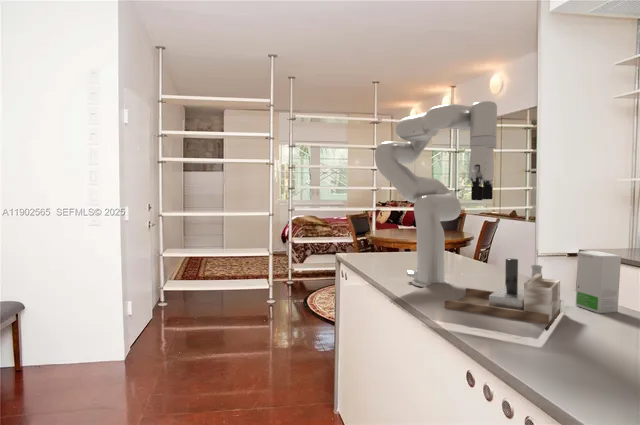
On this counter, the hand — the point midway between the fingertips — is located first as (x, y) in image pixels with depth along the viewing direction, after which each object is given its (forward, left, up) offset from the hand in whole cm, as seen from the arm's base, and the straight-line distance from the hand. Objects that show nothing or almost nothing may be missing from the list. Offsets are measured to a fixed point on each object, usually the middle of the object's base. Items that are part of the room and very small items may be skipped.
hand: (482, 199), depth 133 cm
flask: (+14, +8, -30) cm, 34 cm away
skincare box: (+30, +4, -30) cm, 43 cm away
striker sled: (+12, -15, -29) cm, 34 cm away
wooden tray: (+10, -15, -30) cm, 35 cm away
